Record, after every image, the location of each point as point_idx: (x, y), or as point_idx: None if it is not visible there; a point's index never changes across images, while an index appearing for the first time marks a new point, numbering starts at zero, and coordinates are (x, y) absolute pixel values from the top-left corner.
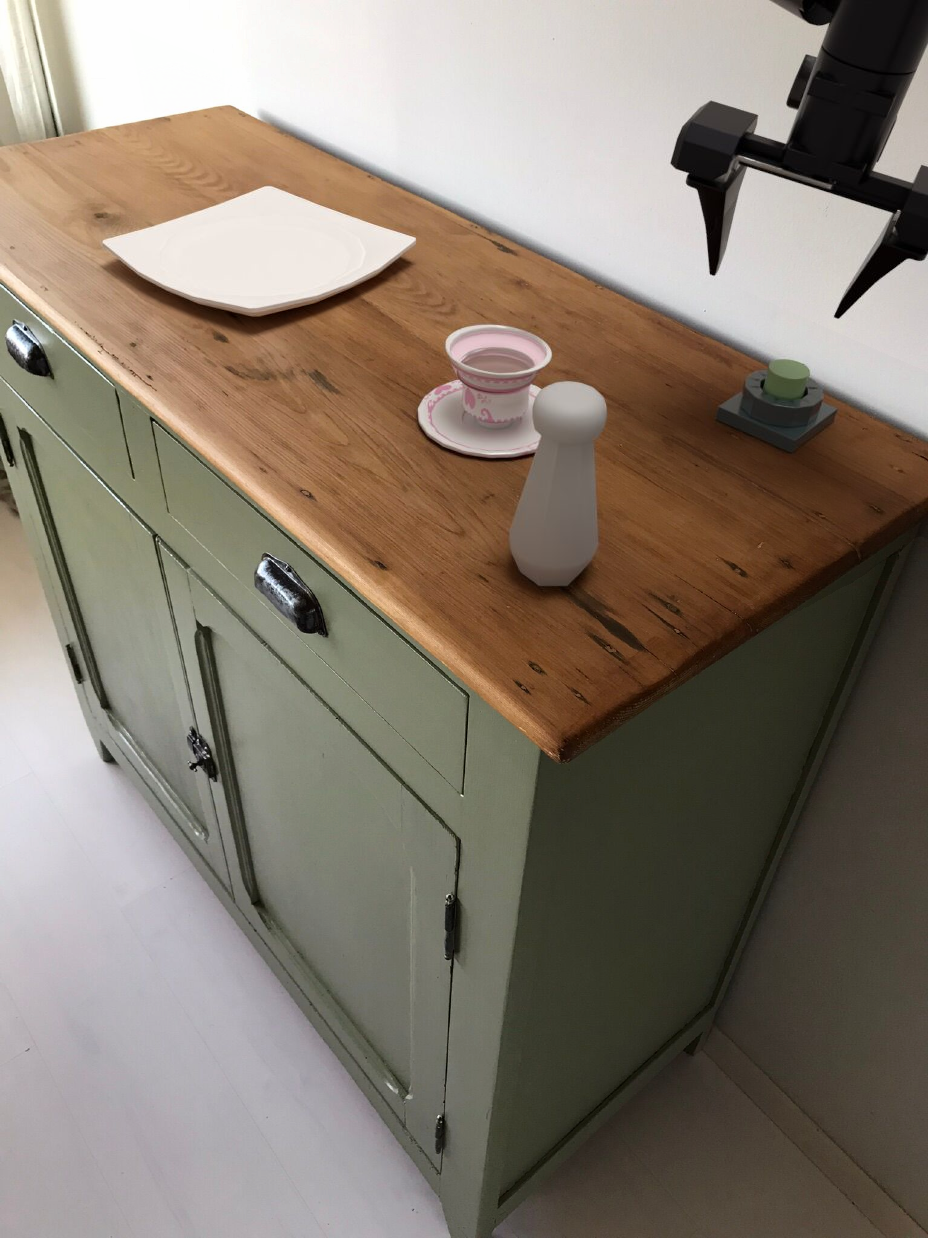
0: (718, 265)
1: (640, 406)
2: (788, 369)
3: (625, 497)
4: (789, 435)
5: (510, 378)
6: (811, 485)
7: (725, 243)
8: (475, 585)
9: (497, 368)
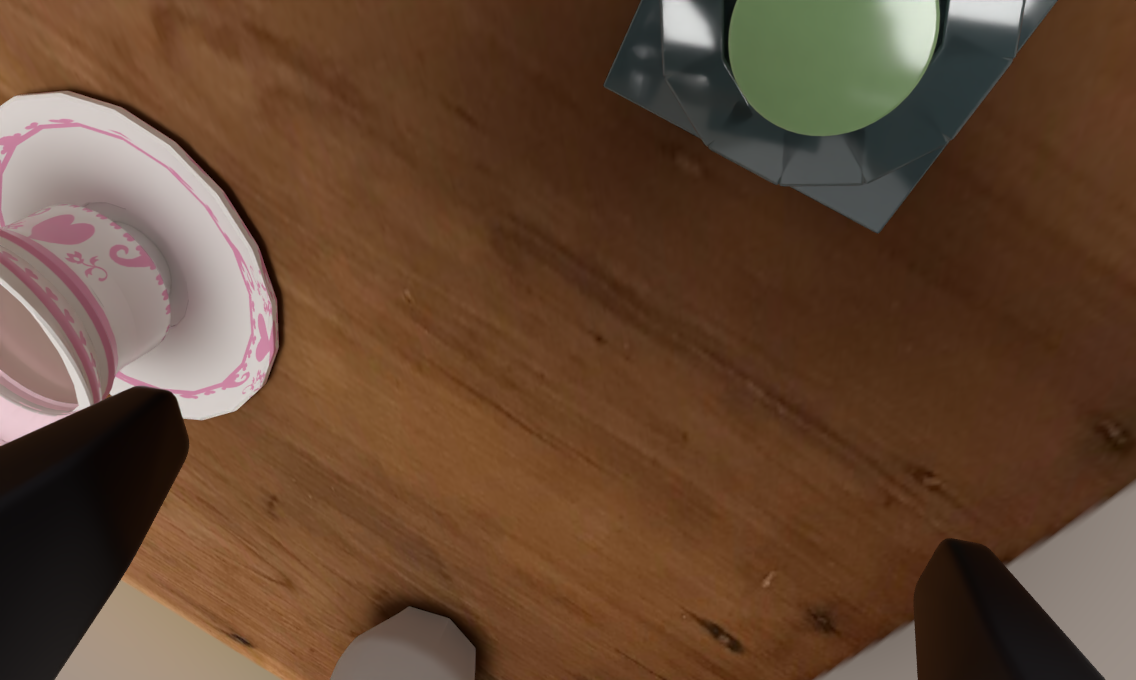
0: (151, 488)
1: (385, 76)
2: (822, 51)
3: (480, 475)
4: (860, 208)
5: None
6: (923, 363)
7: (38, 554)
8: None
9: (14, 302)
